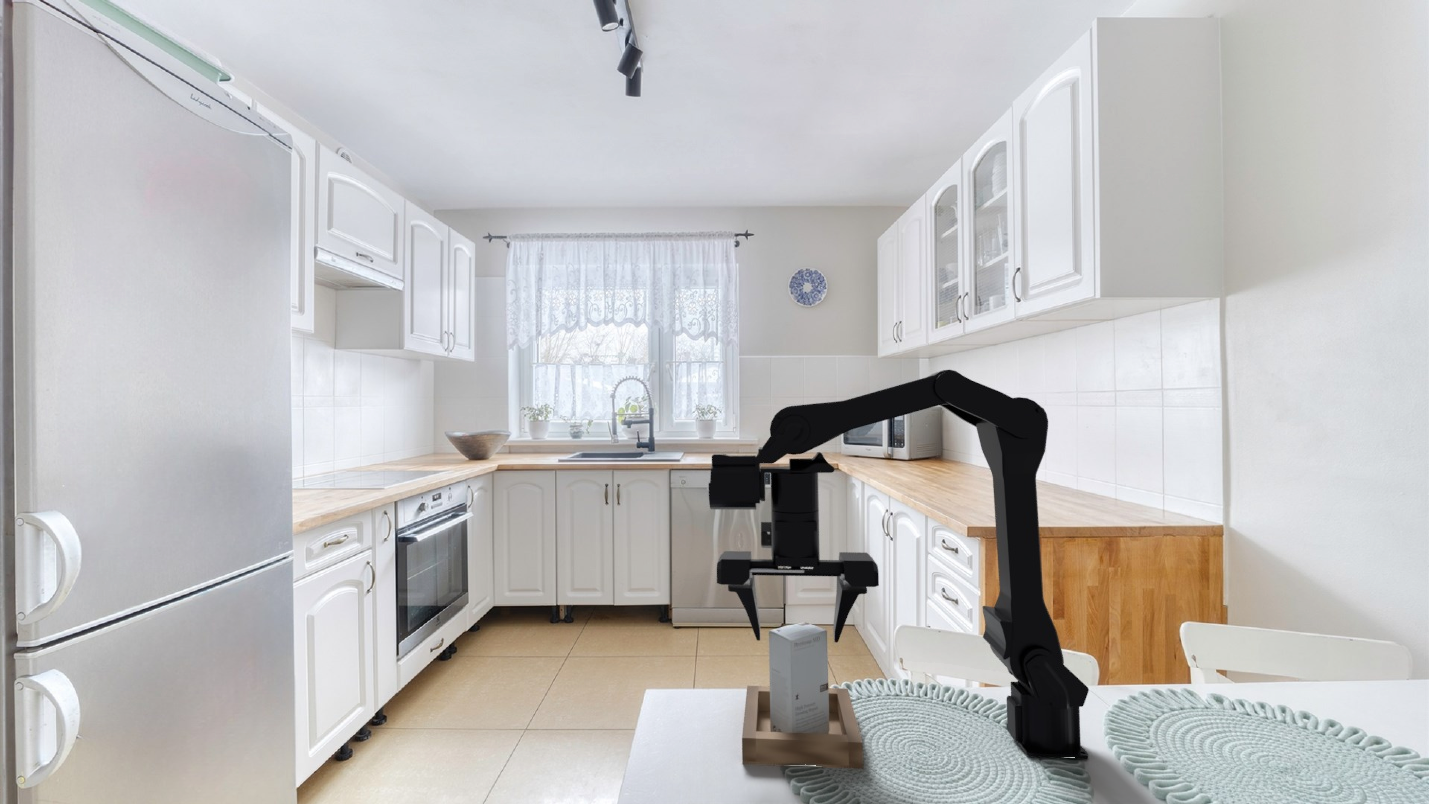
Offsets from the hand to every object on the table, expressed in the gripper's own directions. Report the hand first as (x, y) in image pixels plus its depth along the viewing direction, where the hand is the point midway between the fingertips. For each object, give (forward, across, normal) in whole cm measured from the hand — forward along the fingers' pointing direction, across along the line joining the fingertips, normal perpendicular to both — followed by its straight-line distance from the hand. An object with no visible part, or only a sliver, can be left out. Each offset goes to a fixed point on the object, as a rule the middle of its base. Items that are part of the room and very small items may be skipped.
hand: (796, 640), depth 72 cm
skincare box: (+11, 0, 0) cm, 11 cm away
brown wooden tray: (+12, 0, 0) cm, 12 cm away
